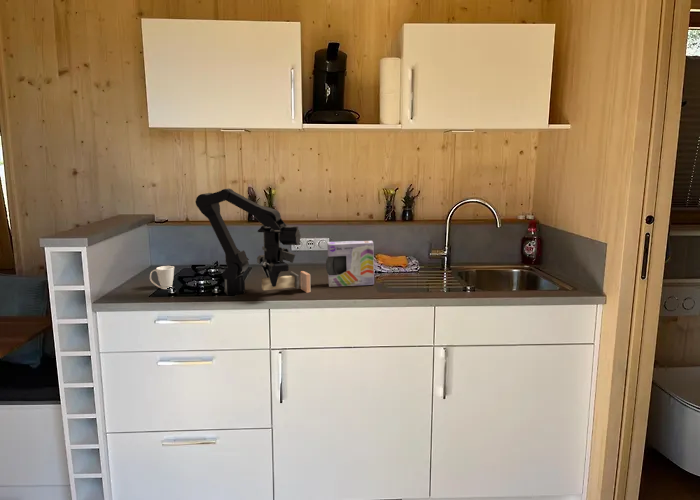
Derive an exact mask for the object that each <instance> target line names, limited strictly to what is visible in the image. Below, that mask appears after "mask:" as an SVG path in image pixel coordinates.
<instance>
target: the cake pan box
mask: <svg viewBox="0 0 700 500" xmlns="http://www.w3.org/2000/svg"><path fill="white" fill-rule="evenodd" d="M326 248H327V258H326V260H325V269H326V273H327V277H328V280H327V281H328V287H330V288H331V287H332V288H333V287H351V286H352V287H355V286H373V285H375V258H374V257H375V255H374V254H375V253H374V249H375V247H374V241H373V240H345V241H327V247H326Z"/></svg>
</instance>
